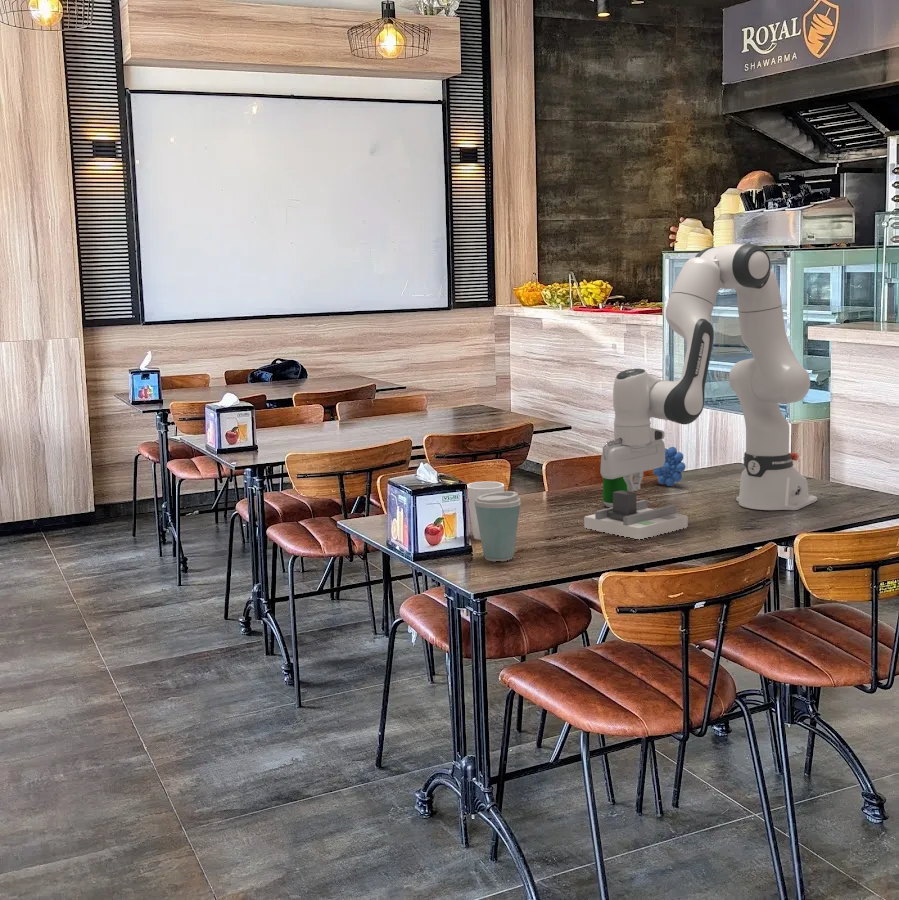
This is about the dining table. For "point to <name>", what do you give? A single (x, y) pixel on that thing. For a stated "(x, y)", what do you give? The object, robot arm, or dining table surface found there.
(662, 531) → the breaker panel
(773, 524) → the dining table surface
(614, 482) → the soda can
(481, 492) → the foam cup
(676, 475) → the grapes
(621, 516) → the handle
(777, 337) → the robot arm
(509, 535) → the disposable coffee cup
